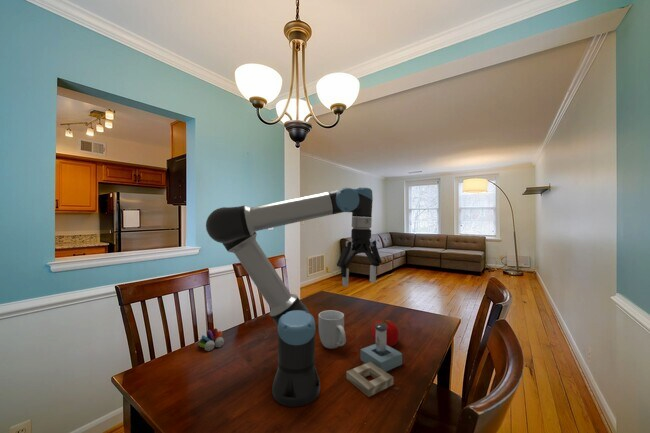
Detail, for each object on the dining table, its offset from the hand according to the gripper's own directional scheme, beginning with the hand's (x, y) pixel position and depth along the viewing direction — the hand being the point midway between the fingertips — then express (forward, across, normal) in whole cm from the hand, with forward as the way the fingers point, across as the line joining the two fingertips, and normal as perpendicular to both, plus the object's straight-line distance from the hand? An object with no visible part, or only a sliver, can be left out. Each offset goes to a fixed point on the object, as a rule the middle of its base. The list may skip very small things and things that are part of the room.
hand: (359, 283), depth 102 cm
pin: (+29, +7, -6) cm, 31 cm away
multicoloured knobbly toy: (+32, -45, +41) cm, 69 cm away
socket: (+29, +8, -5) cm, 31 cm away
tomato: (+29, +19, +4) cm, 35 cm away
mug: (+30, -1, +14) cm, 33 cm away
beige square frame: (+29, -4, -12) cm, 32 cm away
